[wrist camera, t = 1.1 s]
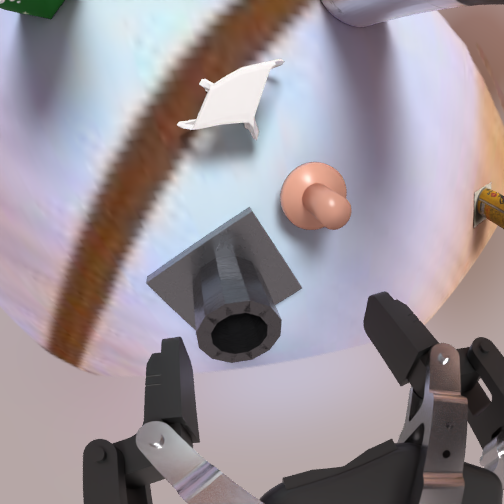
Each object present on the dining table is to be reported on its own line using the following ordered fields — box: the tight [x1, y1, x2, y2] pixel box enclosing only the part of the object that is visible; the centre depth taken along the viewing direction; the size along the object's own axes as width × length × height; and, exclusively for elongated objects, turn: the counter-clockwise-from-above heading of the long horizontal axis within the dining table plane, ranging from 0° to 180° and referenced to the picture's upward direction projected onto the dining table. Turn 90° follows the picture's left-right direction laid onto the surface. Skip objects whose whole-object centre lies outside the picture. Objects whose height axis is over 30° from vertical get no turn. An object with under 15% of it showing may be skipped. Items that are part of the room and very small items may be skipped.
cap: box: [280, 162, 351, 230], centre depth 31 cm, size 8×8×8 cm
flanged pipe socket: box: [146, 207, 302, 363], centre depth 34 cm, size 16×14×10 cm
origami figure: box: [177, 59, 285, 140], centre depth 25 cm, size 12×8×5 cm
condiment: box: [474, 182, 504, 229], centre depth 38 cm, size 7×8×12 cm
